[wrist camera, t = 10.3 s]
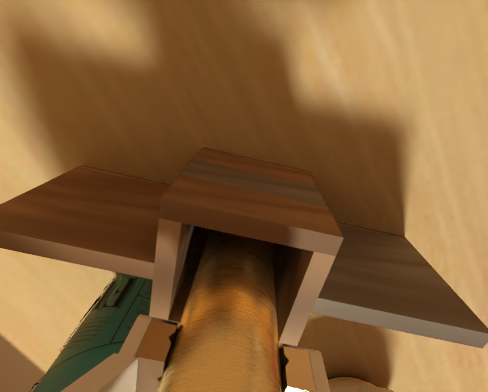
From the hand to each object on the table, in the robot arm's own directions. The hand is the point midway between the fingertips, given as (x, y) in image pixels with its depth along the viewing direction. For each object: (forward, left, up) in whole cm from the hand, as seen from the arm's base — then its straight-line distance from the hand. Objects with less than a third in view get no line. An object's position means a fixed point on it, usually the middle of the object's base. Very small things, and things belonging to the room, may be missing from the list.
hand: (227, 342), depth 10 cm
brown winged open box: (0, 0, -12) cm, 12 cm away
